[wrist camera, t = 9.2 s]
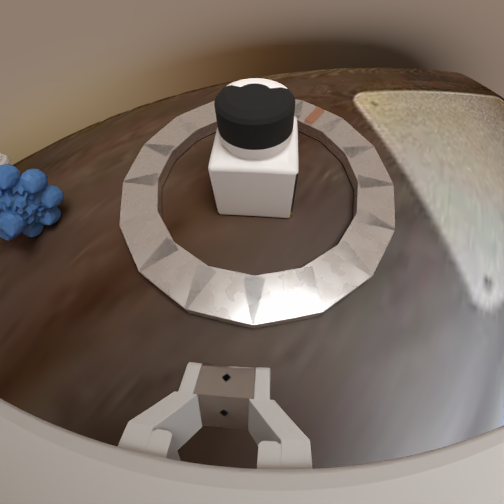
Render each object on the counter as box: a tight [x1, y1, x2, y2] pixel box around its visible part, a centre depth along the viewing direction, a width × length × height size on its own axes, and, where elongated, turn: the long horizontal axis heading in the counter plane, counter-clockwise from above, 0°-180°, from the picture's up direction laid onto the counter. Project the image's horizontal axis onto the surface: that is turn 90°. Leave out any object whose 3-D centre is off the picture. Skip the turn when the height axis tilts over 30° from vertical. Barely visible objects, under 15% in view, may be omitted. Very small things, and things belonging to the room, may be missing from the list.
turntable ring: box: [120, 99, 395, 329], centre depth 29 cm, size 28×28×2 cm
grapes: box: [0, 164, 63, 241], centre depth 23 cm, size 12×7×12 cm, turn 116°
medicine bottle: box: [208, 78, 298, 218], centre depth 25 cm, size 7×7×12 cm
